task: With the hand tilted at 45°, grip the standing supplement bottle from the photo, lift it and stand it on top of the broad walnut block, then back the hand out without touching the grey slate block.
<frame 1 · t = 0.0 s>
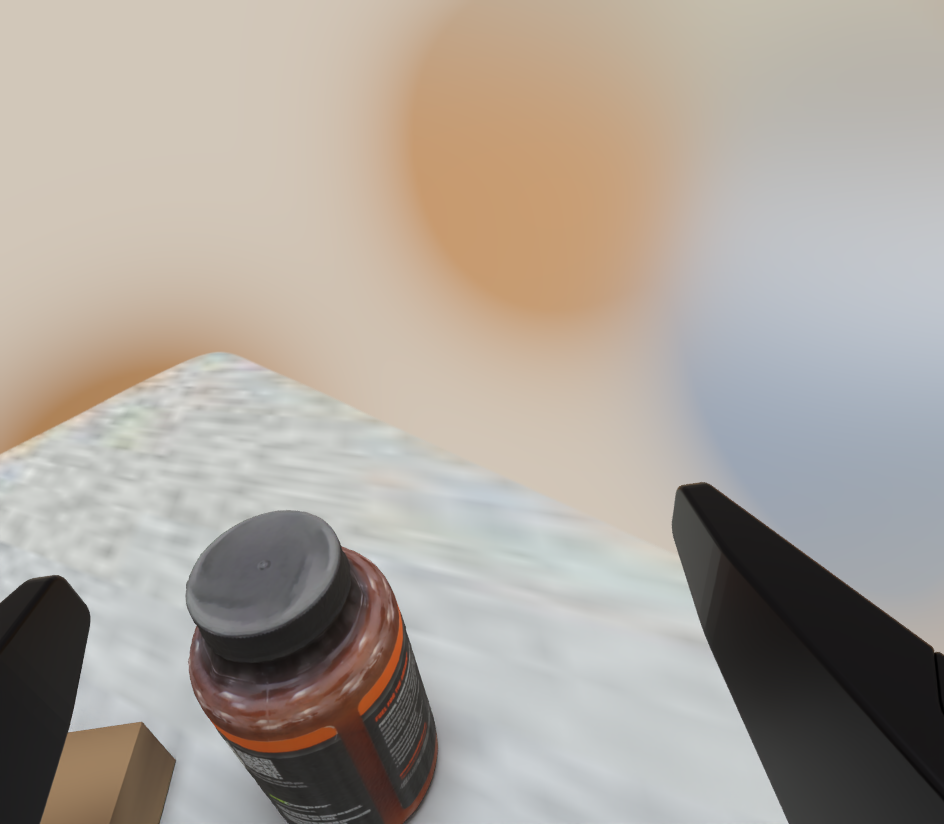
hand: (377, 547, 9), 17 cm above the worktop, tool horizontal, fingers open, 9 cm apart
supplement bottle: (360, 763, 23), on the worktop
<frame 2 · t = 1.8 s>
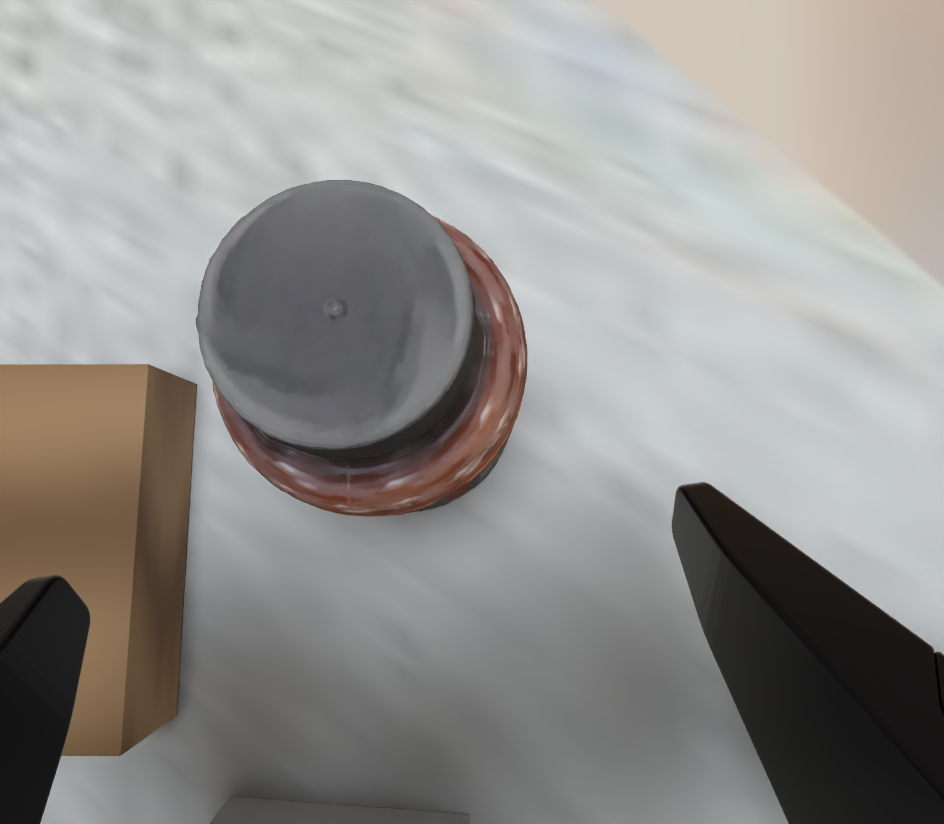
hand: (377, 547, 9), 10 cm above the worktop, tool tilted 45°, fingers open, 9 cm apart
walnut block: (25, 543, 19), on the worktop
supplement bottle: (415, 416, 20), on the worktop
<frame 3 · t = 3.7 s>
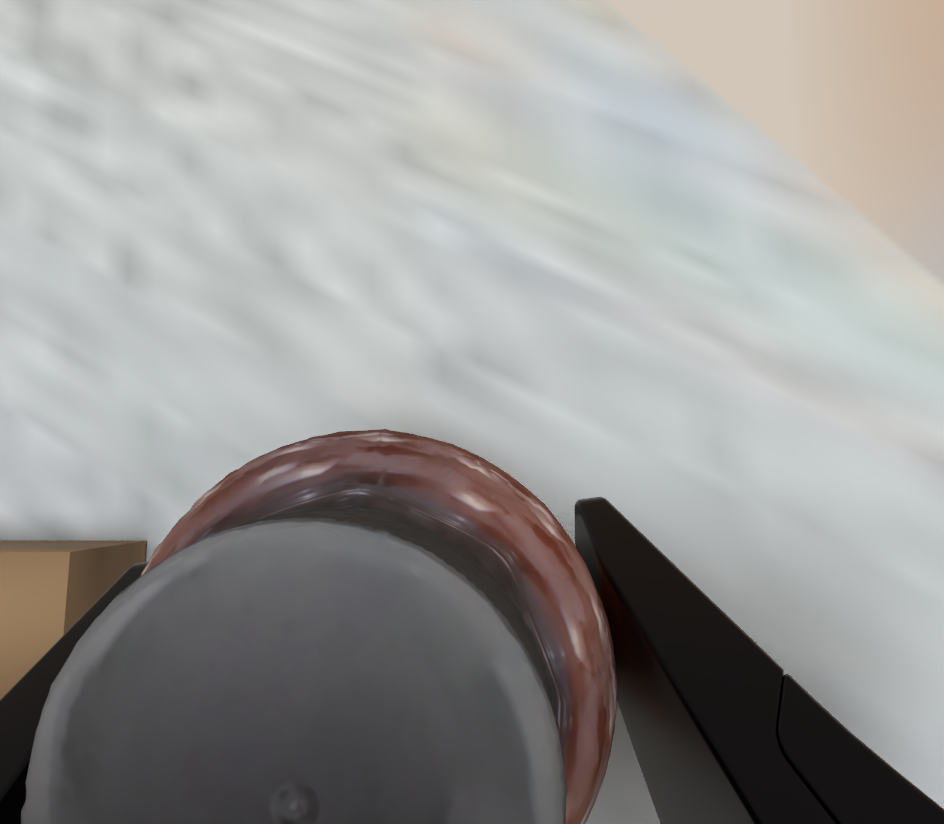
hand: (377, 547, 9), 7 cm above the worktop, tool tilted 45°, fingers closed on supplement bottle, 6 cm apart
supplement bottle: (426, 580, 16), on the worktop, touching gripper
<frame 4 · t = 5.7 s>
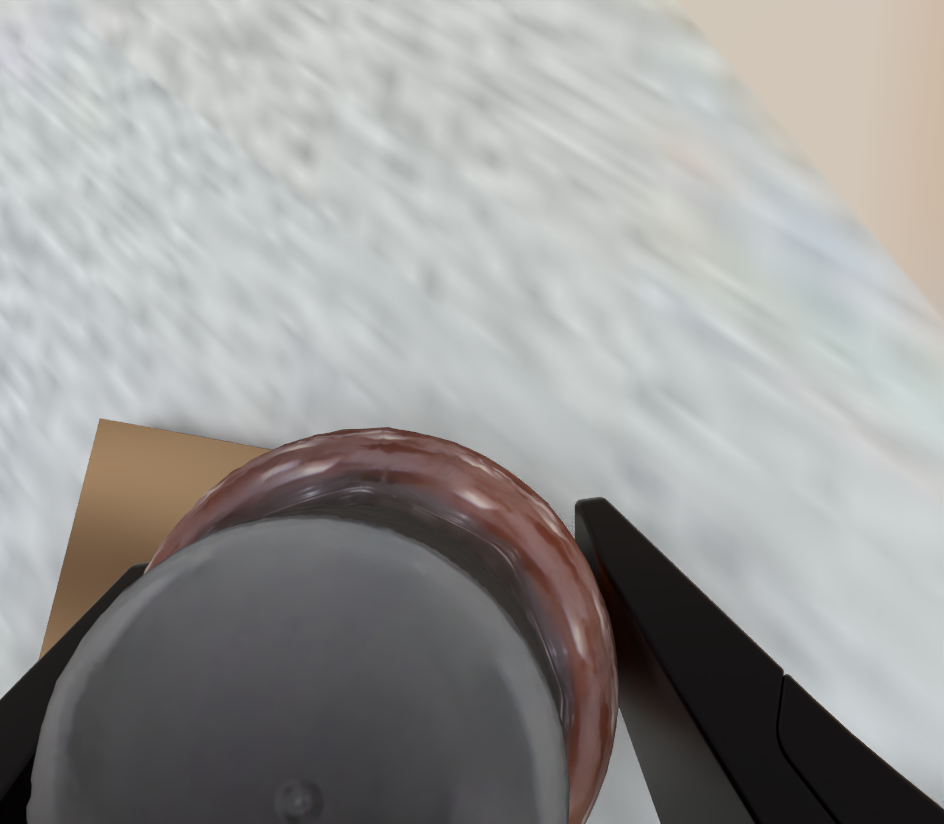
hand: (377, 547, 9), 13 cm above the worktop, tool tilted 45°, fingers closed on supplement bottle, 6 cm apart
walnut block: (253, 592, 22), on the worktop
supplement bottle: (427, 578, 16), point 6 cm above the worktop, touching gripper
when the fingers open (11 cm above the worktop, at t = 7.9 s): supplement bottle drops 1 cm, resting on walnut block.
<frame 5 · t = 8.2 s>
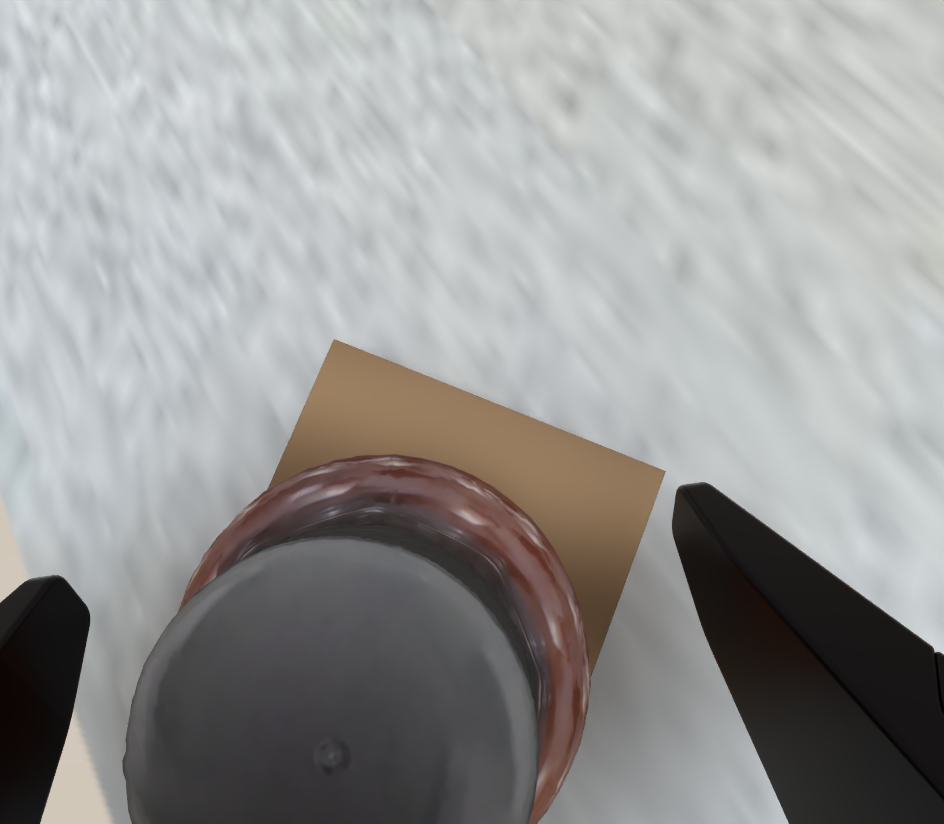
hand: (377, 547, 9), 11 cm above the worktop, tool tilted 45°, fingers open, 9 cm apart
walnut block: (435, 561, 20), on the worktop
supplement bottle: (429, 578, 17), point 3 cm above the worktop, touching walnut block
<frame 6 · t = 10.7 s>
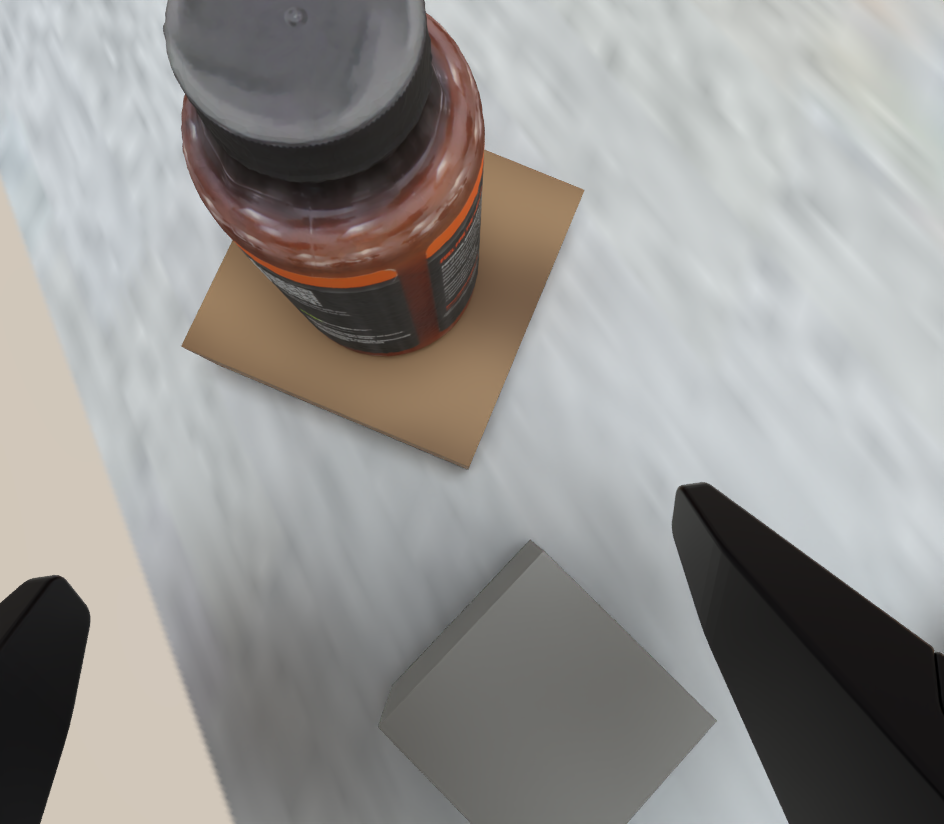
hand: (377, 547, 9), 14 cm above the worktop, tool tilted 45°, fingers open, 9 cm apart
slate block: (532, 681, 22), on the worktop
walnut block: (396, 294, 24), on the worktop
supplement bottle: (387, 273, 21), point 3 cm above the worktop, touching walnut block
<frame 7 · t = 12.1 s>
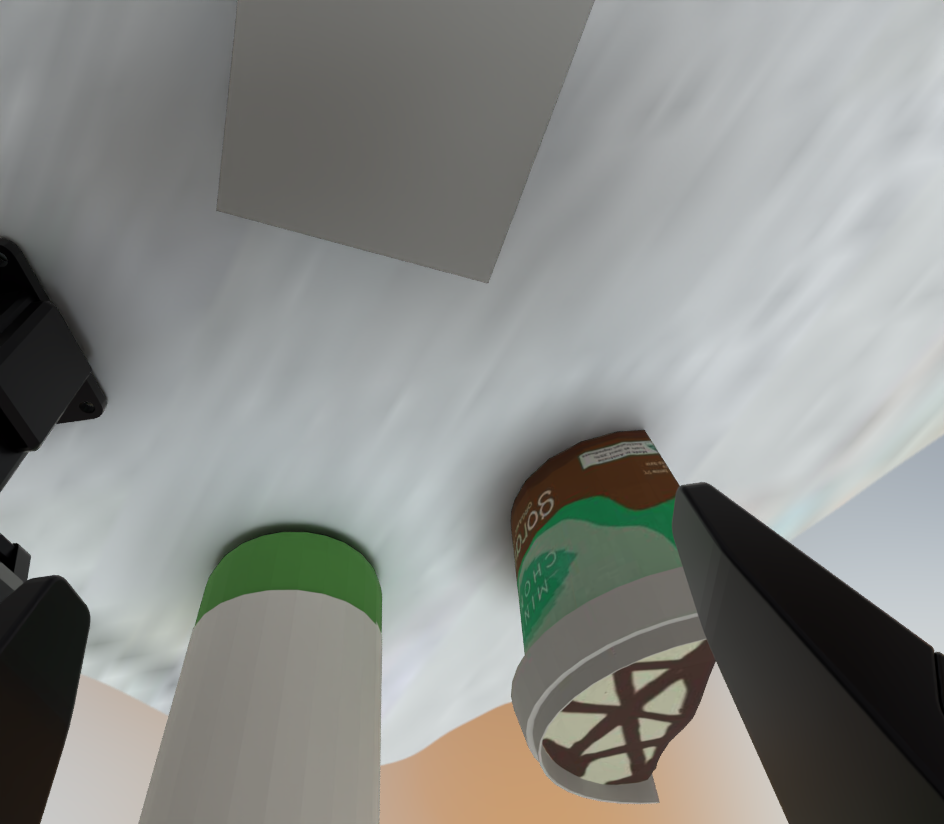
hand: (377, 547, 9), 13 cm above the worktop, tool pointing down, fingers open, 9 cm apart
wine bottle: (299, 574, 29), on the worktop
slate block: (393, 75, 17), on the worktop
food container: (552, 507, 28), on the worktop
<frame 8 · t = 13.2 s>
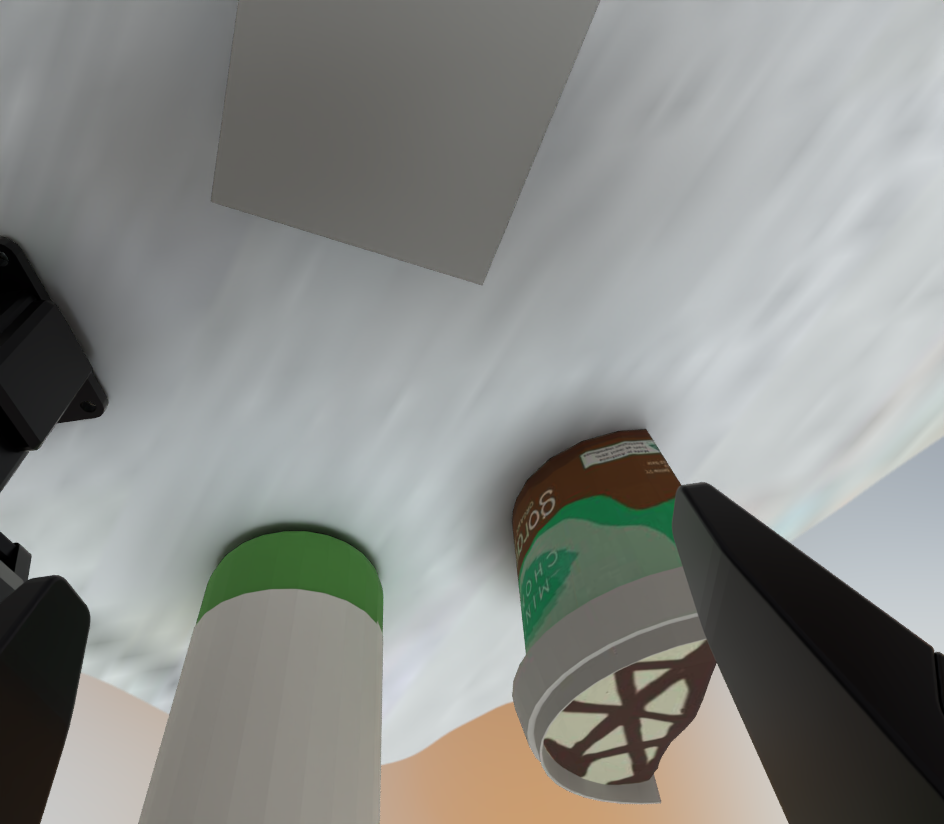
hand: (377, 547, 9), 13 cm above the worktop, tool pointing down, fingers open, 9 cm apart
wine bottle: (300, 573, 29), on the worktop
slate block: (394, 73, 17), on the worktop
food container: (553, 506, 28), on the worktop
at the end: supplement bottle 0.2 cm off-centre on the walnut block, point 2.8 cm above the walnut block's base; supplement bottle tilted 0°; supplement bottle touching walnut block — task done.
